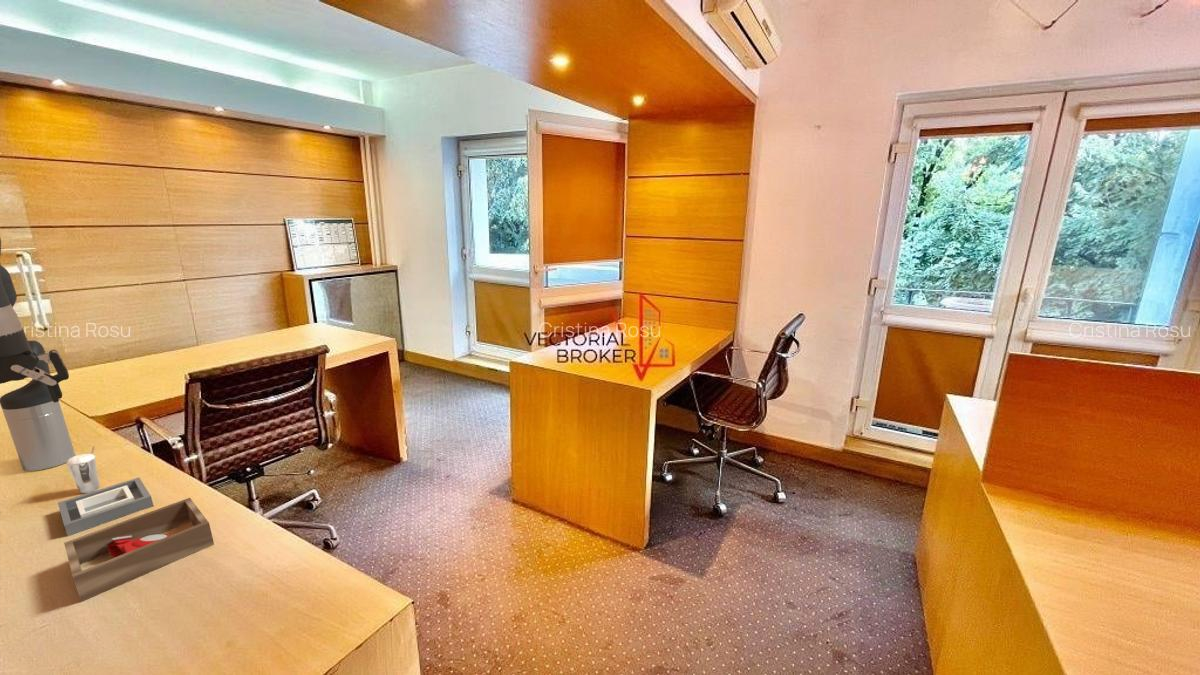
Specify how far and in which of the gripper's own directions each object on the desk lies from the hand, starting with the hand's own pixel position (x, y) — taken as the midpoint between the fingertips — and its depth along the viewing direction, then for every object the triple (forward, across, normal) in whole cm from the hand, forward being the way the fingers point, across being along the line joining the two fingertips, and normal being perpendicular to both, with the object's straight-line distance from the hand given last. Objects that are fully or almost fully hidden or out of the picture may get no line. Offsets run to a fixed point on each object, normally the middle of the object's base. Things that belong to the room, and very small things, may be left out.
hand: (23, 407), depth 90 cm
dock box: (+27, -6, +1) cm, 28 cm away
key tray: (+25, -10, +27) cm, 38 cm away
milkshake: (+29, -3, -13) cm, 32 cm away
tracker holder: (+25, -10, +27) cm, 38 cm away
